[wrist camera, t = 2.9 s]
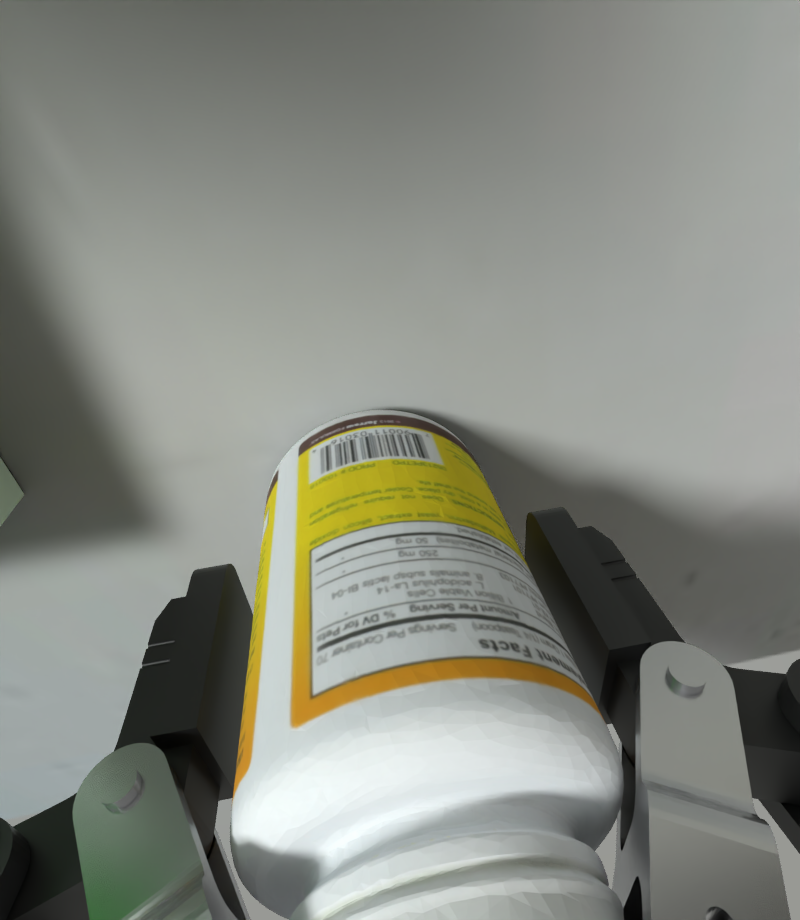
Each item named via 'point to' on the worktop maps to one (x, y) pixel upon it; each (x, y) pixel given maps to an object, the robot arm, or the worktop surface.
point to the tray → (8, 492)
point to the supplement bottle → (412, 699)
